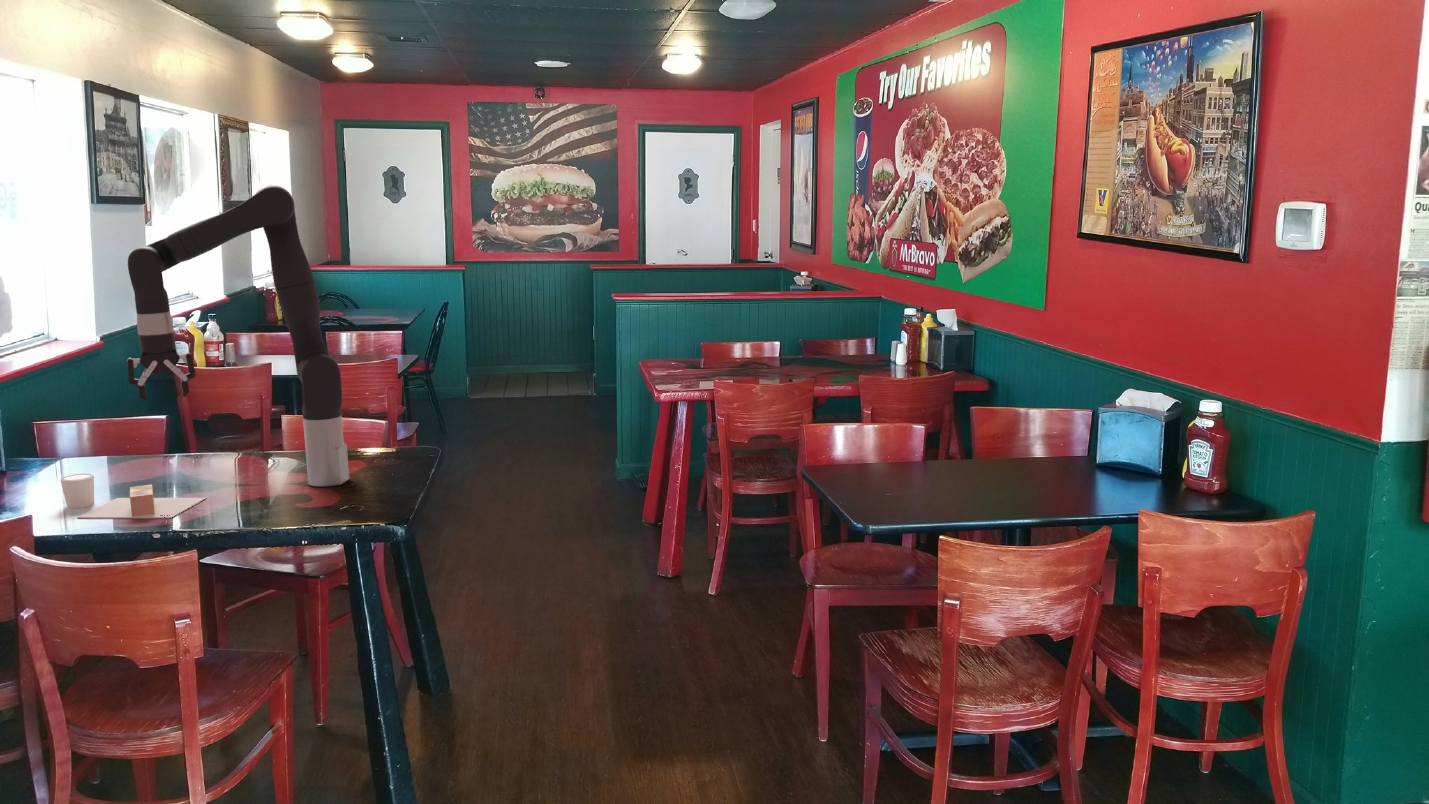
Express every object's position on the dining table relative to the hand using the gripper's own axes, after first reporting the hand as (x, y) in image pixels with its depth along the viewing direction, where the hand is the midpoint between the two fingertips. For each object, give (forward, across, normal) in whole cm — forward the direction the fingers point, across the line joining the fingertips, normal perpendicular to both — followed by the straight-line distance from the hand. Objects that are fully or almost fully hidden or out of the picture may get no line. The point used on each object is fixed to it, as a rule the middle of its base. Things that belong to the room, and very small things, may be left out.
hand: (165, 398), depth 255 cm
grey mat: (+24, -8, -7) cm, 27 cm away
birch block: (+22, -8, -4) cm, 24 cm away
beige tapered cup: (+24, -21, +5) cm, 32 cm away
